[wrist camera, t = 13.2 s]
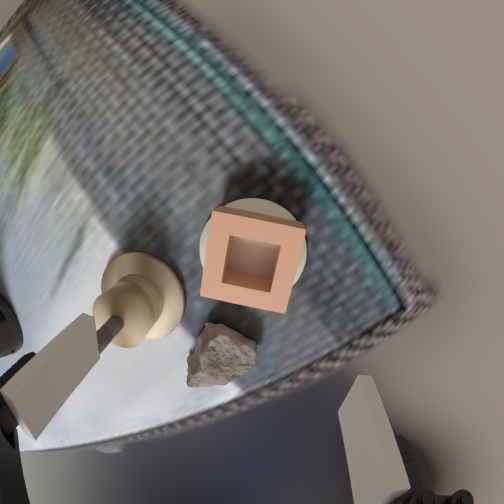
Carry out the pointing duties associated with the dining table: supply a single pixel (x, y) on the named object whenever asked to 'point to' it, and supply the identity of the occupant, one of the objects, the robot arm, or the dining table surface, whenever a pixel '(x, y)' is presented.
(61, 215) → the dining table surface
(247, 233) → the link
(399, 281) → the dining table surface
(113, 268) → the stand
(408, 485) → the robot arm
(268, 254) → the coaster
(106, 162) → the dining table surface
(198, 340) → the stone
